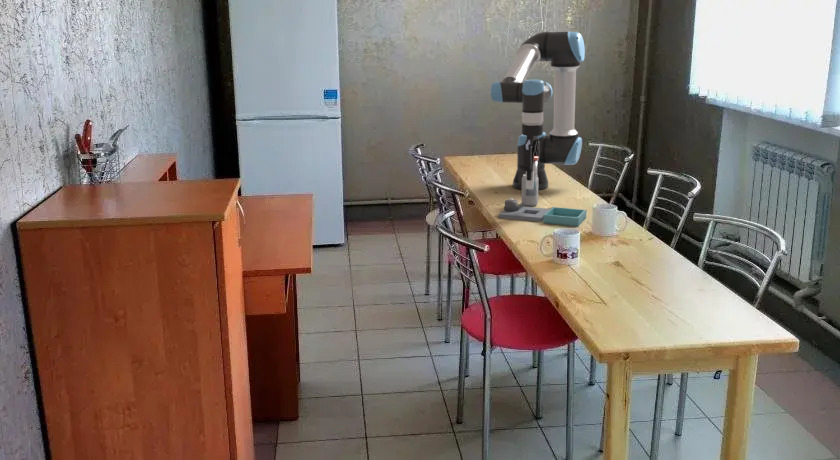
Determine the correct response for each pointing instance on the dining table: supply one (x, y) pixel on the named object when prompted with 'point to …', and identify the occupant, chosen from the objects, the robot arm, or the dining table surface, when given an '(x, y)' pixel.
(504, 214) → the board
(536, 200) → the beverage can
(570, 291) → the dining table surface
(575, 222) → the tray
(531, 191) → the bottle with red cap
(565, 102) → the robot arm
